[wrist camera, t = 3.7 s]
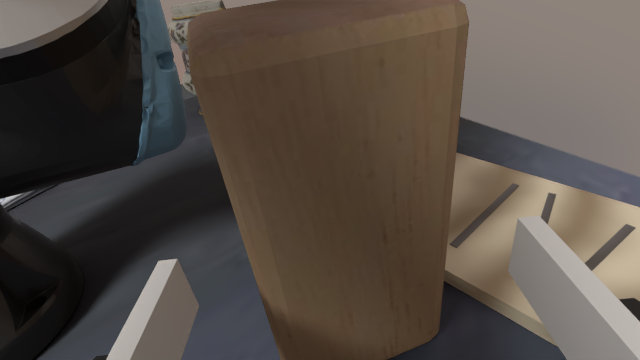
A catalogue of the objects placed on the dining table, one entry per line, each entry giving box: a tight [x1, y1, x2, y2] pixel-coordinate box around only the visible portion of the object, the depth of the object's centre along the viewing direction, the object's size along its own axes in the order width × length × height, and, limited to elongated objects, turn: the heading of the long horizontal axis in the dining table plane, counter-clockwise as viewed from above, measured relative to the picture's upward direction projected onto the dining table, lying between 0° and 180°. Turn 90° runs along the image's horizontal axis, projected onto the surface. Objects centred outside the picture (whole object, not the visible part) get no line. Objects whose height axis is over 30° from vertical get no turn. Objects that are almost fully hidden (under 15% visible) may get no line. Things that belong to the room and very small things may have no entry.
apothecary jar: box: [168, 0, 226, 115], centre depth 62 cm, size 12×12×18 cm
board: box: [444, 153, 640, 347], centre depth 27 cm, size 28×16×1 cm, turn 42°
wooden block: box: [187, 0, 469, 360], centre depth 20 cm, size 10×10×20 cm
